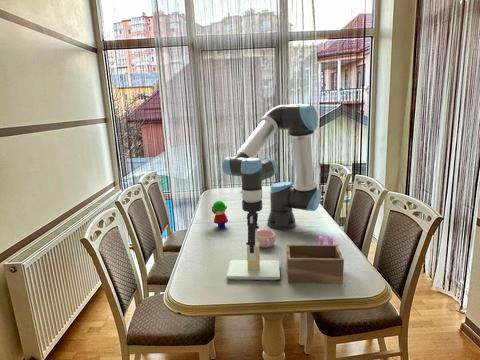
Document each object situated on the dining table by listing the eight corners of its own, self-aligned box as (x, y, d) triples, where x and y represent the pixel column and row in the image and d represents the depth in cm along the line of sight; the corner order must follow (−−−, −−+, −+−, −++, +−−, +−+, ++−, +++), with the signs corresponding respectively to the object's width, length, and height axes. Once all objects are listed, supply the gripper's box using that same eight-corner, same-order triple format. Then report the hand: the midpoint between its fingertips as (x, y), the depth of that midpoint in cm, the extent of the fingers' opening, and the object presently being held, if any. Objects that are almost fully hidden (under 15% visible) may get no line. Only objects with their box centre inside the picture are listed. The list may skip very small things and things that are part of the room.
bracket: (318, 249, 152) (318, 235, 151) (330, 249, 152) (331, 234, 150) (324, 262, 140) (324, 247, 138) (337, 262, 139) (338, 247, 138)
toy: (228, 230, 177) (227, 203, 174) (212, 231, 177) (210, 203, 174) (228, 224, 186) (227, 198, 183) (212, 225, 186) (211, 199, 183)
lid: (230, 265, 140) (229, 237, 137) (278, 266, 138) (278, 237, 136) (226, 281, 128) (225, 251, 125) (279, 282, 126) (279, 251, 123)
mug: (252, 242, 162) (252, 230, 161) (272, 240, 164) (272, 228, 162) (258, 252, 151) (257, 240, 149) (279, 250, 152) (279, 238, 151)
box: (286, 265, 138) (286, 244, 136) (336, 266, 136) (337, 244, 134) (287, 282, 125) (287, 259, 123) (342, 283, 123) (343, 259, 121)
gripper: (244, 190, 138) (246, 238, 143) (238, 210, 114) (240, 267, 119) (263, 190, 138) (263, 239, 142) (260, 210, 113) (261, 267, 118)
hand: (253, 252), depth 131 cm, fingers open, 13 cm apart
